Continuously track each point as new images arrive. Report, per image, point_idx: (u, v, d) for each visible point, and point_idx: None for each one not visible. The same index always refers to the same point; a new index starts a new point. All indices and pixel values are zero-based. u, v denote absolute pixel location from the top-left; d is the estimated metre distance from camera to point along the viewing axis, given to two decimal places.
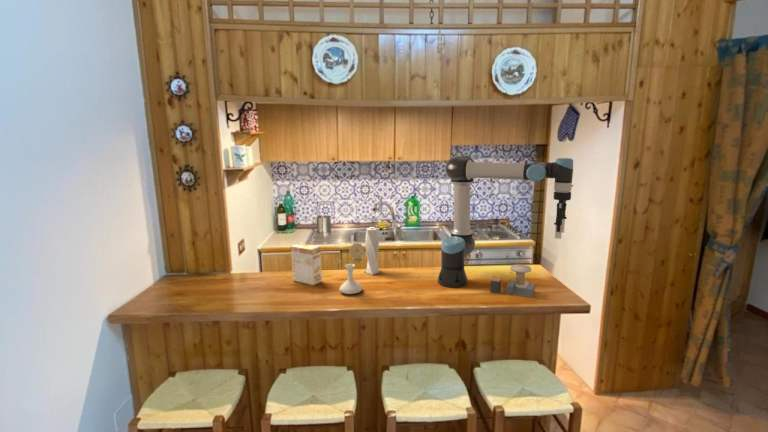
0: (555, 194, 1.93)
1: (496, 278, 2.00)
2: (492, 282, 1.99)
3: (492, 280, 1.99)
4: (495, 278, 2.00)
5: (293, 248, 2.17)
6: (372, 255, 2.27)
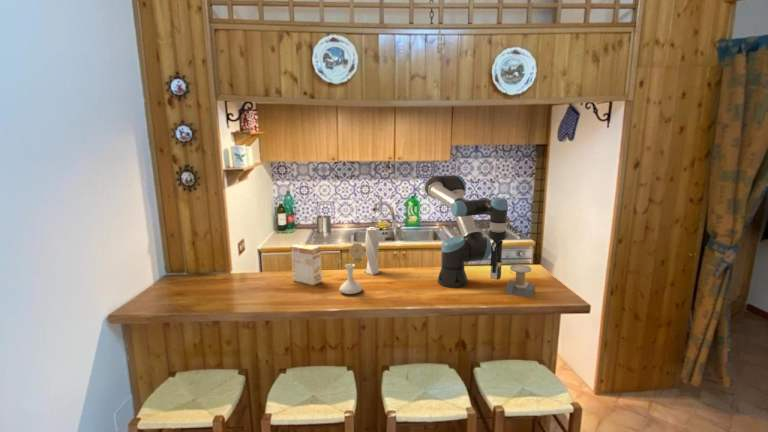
0: (490, 233, 1.95)
1: None
2: None
3: None
4: None
5: (293, 248, 2.17)
6: (372, 255, 2.27)
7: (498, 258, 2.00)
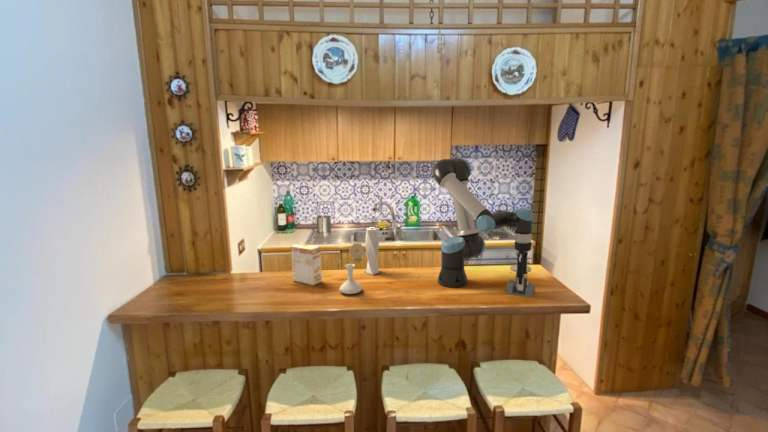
0: (515, 244, 1.94)
1: None
2: None
3: None
4: None
5: (293, 248, 2.17)
6: (372, 255, 2.27)
7: (524, 269, 1.99)
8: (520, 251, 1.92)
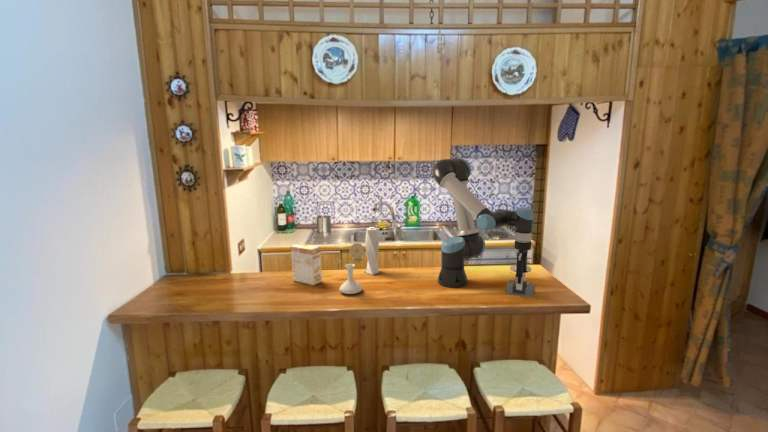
0: (515, 243, 1.93)
1: (523, 278, 1.97)
2: None
3: None
4: None
5: (293, 248, 2.17)
6: (372, 255, 2.27)
7: (523, 268, 1.99)
8: (520, 250, 1.92)
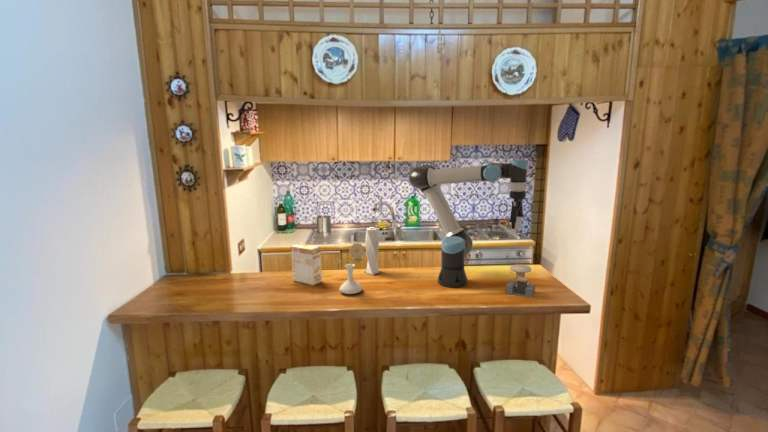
0: (511, 193, 2.05)
1: (523, 278, 1.97)
2: (519, 282, 1.96)
3: (519, 280, 1.96)
4: (522, 278, 1.97)
5: (293, 248, 2.17)
6: (372, 255, 2.27)
7: (520, 214, 2.13)
8: (515, 199, 2.03)
